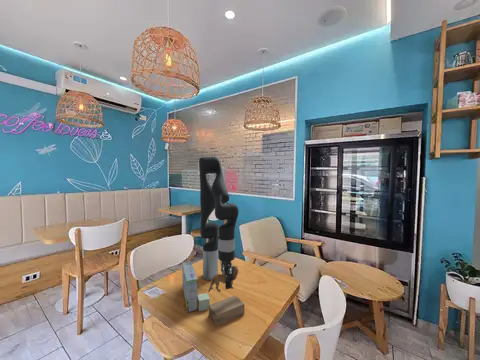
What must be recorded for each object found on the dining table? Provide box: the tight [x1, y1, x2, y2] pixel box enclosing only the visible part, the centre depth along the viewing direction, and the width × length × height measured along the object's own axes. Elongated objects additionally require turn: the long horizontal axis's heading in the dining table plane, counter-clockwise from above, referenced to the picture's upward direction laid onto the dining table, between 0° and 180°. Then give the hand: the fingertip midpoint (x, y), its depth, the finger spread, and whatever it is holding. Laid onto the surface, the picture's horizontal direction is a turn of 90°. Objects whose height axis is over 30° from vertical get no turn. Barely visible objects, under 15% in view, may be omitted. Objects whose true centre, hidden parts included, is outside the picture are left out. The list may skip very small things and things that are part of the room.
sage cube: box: [198, 292, 211, 312], centre depth 100 cm, size 5×5×5 cm
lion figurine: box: [207, 264, 239, 293], centre depth 93 cm, size 15×5×9 cm, turn 121°
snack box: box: [181, 261, 199, 313], centre depth 106 cm, size 21×6×15 cm, turn 21°
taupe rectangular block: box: [208, 295, 245, 327], centre depth 95 cm, size 8×14×5 cm, turn 124°
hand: (226, 285), depth 94 cm, fingers closed on lion figurine, 4 cm apart
